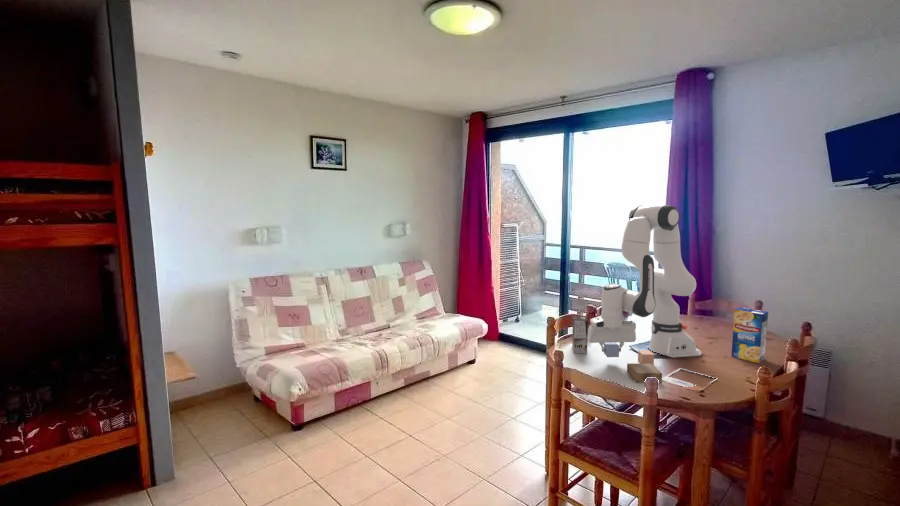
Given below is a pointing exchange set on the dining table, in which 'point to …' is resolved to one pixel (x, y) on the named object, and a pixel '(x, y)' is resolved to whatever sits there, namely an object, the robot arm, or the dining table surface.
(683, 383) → the photo frame
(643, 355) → the terracotta cube
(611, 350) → the blue cube
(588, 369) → the dining table surface
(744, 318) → the beverage box
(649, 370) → the walnut block
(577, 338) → the coffee box
